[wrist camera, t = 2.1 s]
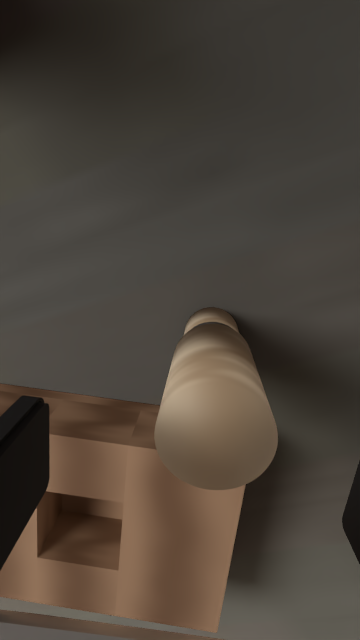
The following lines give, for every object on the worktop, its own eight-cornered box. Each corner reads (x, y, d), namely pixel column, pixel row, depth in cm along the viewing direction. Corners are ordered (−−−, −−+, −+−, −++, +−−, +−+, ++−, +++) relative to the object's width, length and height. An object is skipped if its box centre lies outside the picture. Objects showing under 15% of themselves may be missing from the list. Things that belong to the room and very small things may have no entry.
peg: (247, 306, 22) (289, 392, 11) (237, 365, 24) (266, 498, 12) (184, 299, 23) (160, 374, 11) (177, 357, 24) (149, 480, 12)
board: (241, 416, 25) (249, 463, 20) (215, 564, 28) (216, 632, 24) (-25, 380, 26) (-79, 415, 21) (-16, 527, 29) (-60, 586, 25)
